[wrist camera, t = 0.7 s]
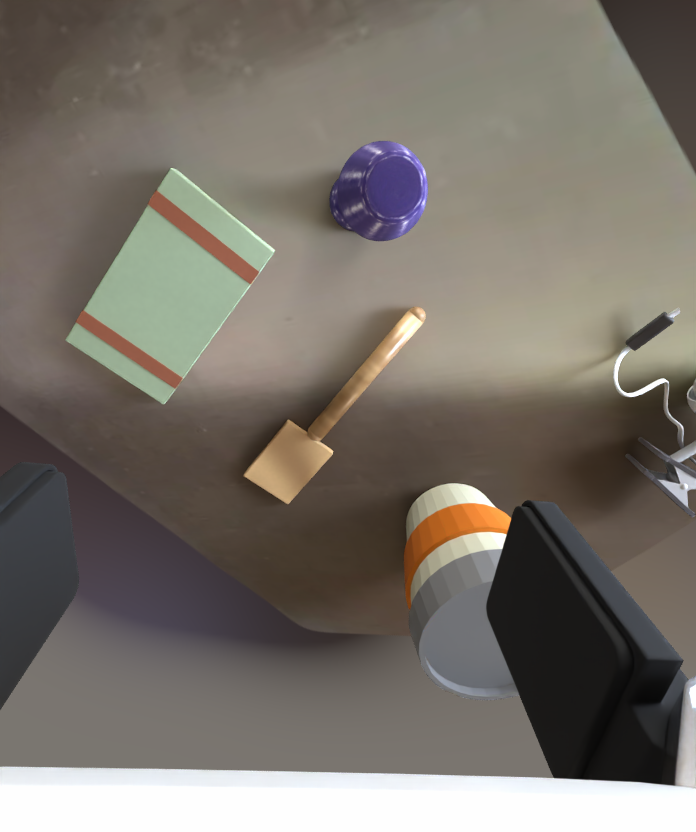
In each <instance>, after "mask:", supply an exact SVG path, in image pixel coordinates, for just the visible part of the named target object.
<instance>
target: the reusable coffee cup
mask: <svg viewBox="0 0 696 832" xmlns="http://www.w3.org/2000/svg"><path fill="white" fill-rule="evenodd" d="M510 521H511V518H510V517H509V516H508V515H507V514H506V513H504V512H502V511H501V510H499V509H497V508H496V507H495V506H494V505H493V504H492V503H491V502H490V501H489V500H488V498H487V497H486V496H485V495H484V494H483V493H481V492H480V491H479V490H477V489H475V488H474V487H471V486H468V485H465V484H458V483H452V484H444V485H440V486H437V487H434V488H432V489H430V490H428V491H426V492H425V493H423V494H422V495H421V496H420V497H419V498H417V499H416V501H415V502H414V503H413V505H412V506H411V508H410V510H409V512H408V515H407V519H406V534H407V543H406V547H405V551H404V573H405V591H406V600H407V604H408V608H409V609H410V611H409V629H410V633H411V637H412V639H413V642H414V645H415V648H416V651H417V654H418V656H419V659H420V662H421V665H422V667H423V669H424V671H425V673H426V674H427V676H428V677H429V678H430V679H431V680H432V681H433V682H434V683H435V684H436V685H437V686H439V687H440V688H442V689H443V690H445V691H447V692H449V693H452V694H454V695H456V696H459V697H464V698H469V699H475V700H497V699H504V698H509V697H514V696H518V695H519V693H518V690H517V688H516V686H515V683H514V681H513V678H512V676H511V673H510V671H509V669H508V666H507V664H506V661H505V659H504V656H503V654H502V652H501V649H500V647H499V644H498V642H497V639H496V637H495V635H494V632H493V630H492V627H491V625H490V622H489V620H488V617H487V611H486V603H487V599H488V595H489V592H490V589H491V585H492V582H493V578H494V575H495V572H496V568H497V565H498V562H499V558H500V555H501V552H502V548H503V545H504V542H505V538H506V535H507V531H508V528H509V525H510Z"/></svg>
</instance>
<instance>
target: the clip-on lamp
mask: <svg viewBox="0 0 696 832" xmlns="http://www.w3.org/2000/svg"><path fill="white" fill-rule="evenodd" d="M679 313H680V309H679V308H677V309H675V310H674V311H672V312H670V313H668V314H667V313H666V312H663V313H662V314H661V315H659V316H658V317H657V318H655V319H654V320H653V321H651V322H650V323H649V324H647V325H646V326H645V327H644V328H642V329H641V330H640V331H638V332H637V333H636V334H634V335H633V336H632V337H630V338H629V339H628V340H627V341H626V344H627V346H626V347H625V348H624V349H623V350H622V352H621V353H620V354H619V356H618V358H617V360H616V362H615V365H614V370H613V380H614V385H615V387H616V389H617V391H618V392H619V393H620V394H621V395H623V396H626V397H635V396H638V395H641V394H643V393H645V392H647V391H649V390H651V389H652V388H654V387H656V386H658V385H659V384H661V383H665V391H664V412H665V414H666V416H667V418H668V419H669V420H670V421H672V422H673V423H674V424H676V425H677V427H678V442H679V445H680V447H681V450H679V451H677V452H675V453H674V454H672V455H670V456H669V455H668V454H666V453H664V452H663V451H661V450H659V449H658V448H656V447H654V446H653V445H652V444H650V443H649V442H647V441H646V440H644V439H643V438H641V437H640V438H639V439H638V441H639V442H641V443H642V444H643V445H644V446H646V447H647V448H648V449H649V450H651V451H652V452H653V453H654V454H656V455H657V456H658V457H660V458H661V459H663V460H664V463H665V466H666V469H667V471H668V473H667V474H666V473H661V472H656V471H651V470H647V469H646V468H645V467H643V466H642V465H641V464H640V463H639V462H638V461H637V460H636V459H634V458H633V457H632V456H631V455H630V454H627V455H625V457H626V458H628V459H629V460H630V461H631V462H632V463H633V464H634V465H635V466H636V467H637V468H638V469H639V470H640V471H641V472H642V473H644V474H645V475H646V476H647V477H648V478H649V479H651V480H652V481H653V482H654V483H655V484H656V485H657V486H658V487H659V488H660V489H661V490H662V491H663V492H664V493H665V494H666V495H667V496H668V497H669V498H670V499H671V500H672V501H674V502H675V503H676V504H677V505H678V506H679V507H680V508H682V509H683V510H684V511H685V512H686V513H687V514H689V515H690V516H691V517H694V516H695V515H696V514H695V513H693V512H692V511H691V510H690V509H689V508H688V501H687V491H688V490H690V489H696V471H695V470H693V469H691V468H690V467H688V466H686V465H684V464H683V463H681V462H682V461H684V460H685V459H687V458H689V459H690V460H691V461H692V462H693V463H694V464H696V460H695V459H694V458H693V457H692V455H694V454H696V441H694V442H693V443H691V444H689V445H687V446H686V447H685V446H684V443H683V434H684V429H683V426H682V425H681V424H680V423H679V422H678V421H676V420H675V419H674V418H673V417H672V416H671V415H670V413H669V411H668V394H669V382H668V381H667V380H665V379H664V378H662V379H659V380H656V381H654V382H653V383H651V384H649V385H647V386H646V387H644V388H642V389H640V390H638V391H636V392H633V393H625V392H623V391H622V390H621V389H620V387H619V384H618V379H617V377H618V369H619V365H620V363H621V361H622V359H623V357H624V356H625V355H626V354H627V352H628V351H629V350H631V349H633V350H634V351H635V350H637V349H638V348H640V347H641V346H642V345H644V344H645V343H647V342H648V341H649V340H651V339H652V338H653V337H655V336H656V335H658V334H659V333H660V332H662V331H663V330H664V329H666V328H667V327H668V326H670V325H671V324H673V322H674V319H673V318H672V317H674V316H676V315H678V314H679ZM687 401H688V404H689V406H690V408H691V409H692V410H693V411H694V412H695V413H696V379H695V381H694V384H693V386H692V387H691V388H690V389H689V391H688V392H687Z"/></svg>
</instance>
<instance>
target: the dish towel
mask: <svg viewBox="0 0 696 832" xmlns="http://www.w3.org/2000/svg"><path fill="white" fill-rule="evenodd" d="M274 252H275V250H274V249H273V248H272V247H270V246H269V245H268V244H267V243H265V242H264V241H263V240H262V239H261V238H259V237H258V236H257V235H256V234H254V233H253V232H252V231H251V230H250V229H248V228H247V227H246V226H245V225H244V224H242V223H241V222H240V221H239V220H237V219H236V218H235V217H234V216H233V215H231V214H230V213H229V212H228V211H226V210H225V209H224V208H223V207H222V206H220V205H219V204H218V203H217V202H215V201H214V200H213V199H212V198H211V197H209V196H208V195H207V194H206V193H204V192H203V191H202V190H201V189H200V188H198V187H197V186H196V185H195V184H194V183H192V182H191V181H190V180H189V179H187V178H186V177H185V176H184V175H183V174H181V173H180V172H179V171H178V170H176V169H173V168H170V170H169V171H168V173H167V175H166V176H165V178H164V179H163V181H162V183H161V184H160V186H159V188H158V189H157V190H156V191H155V193H154V194H153V196H152V197H151V199H150V201H149V202H148V206H147V207H146V209H145V210H144V212H143V214H142V215H141V217H140V219H139V220H138V222H137V224H136V225H135V227H134V228H133V230H132V232H131V233H130V235H129V237H128V238H127V240H126V242H125V243H124V245H123V246H122V248H121V250H120V251H119V253H118V255H117V256H116V258H115V259H114V261H113V263H112V264H111V266H110V268H109V269H108V271H107V273H106V274H105V276H104V277H103V279H102V281H101V282H100V284H99V286H98V287H97V289H96V291H95V292H94V294H93V295H92V297H91V299H90V300H89V302H88V304H87V305H86V307H85V308H84V310H82V312H81V314H80V315H79V317H78V318H77V320H76V323H75V325H74V326H73V328H72V330H71V331H70V333H69V335H68V336H67V338H66V341H67V342H69V343H70V344H72V345H73V346H75V347H76V348H78V349H79V350H81V351H82V352H84V353H85V354H87V355H88V356H90V357H91V358H93V359H94V360H96V361H98V362H99V363H101V364H102V365H104V366H105V367H107V368H108V369H110V370H111V371H113V372H114V373H116V374H117V375H119V376H120V377H122V378H124V379H125V380H127V381H128V382H130V383H131V384H133V385H134V386H136V387H137V388H139V389H140V390H142V391H143V392H145V393H146V394H148V395H149V396H151V397H153V398H154V399H156V400H157V401H159V402H160V403H162V404H165V403H166V402H167V400H168V399H169V398H170V397H171V395H172V394H173V392H174V391H175V390H176V388H177V387H178V385H179V384H180V383H181V381H182V380H183V379H184V377H185V376H186V374H187V373H188V372H189V370H190V369H191V367H192V366H193V365H194V363H195V362H196V361H197V359H198V358H199V356H200V355H201V354H202V352H203V351H204V349H205V348H206V347H207V345H208V344H209V343H210V341H211V340H212V338H213V337H214V336H215V334H216V333H217V331H218V330H219V329H220V327H221V326H222V325H223V323H224V322H225V320H226V319H227V318H228V316H229V315H230V313H231V312H232V311H233V309H234V308H235V307H236V305H237V304H238V302H239V301H240V300H241V298H242V297H243V295H244V294H245V293H246V291H247V290H248V288H249V287H250V286H251V284H252V283H253V282H254V280H255V279H256V277H257V276H258V275H259V273H260V272H261V270H262V269H263V268H264V266H265V265H266V264H267V262H268V261H269V259H270V258H271V257H272V255H273V254H274Z"/></svg>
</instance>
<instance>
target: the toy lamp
mask: <svg viewBox="0 0 696 832" xmlns="http://www.w3.org/2000/svg"><path fill="white" fill-rule="evenodd" d="M427 195H428V185H427V178H426V174H425V171H424V168H423V166H422V164H421V163H420V161H419V160H418V158H417V157H416V156H415V155H414V154H413V153H412V152H411V151H410V150H409V149H407V148H406V147H405V146H403V145H400V144H398V143H394V142H390V141H378V142H373V143H370V144H367V145H365V146H363V147H361V148H360V149H358V150H357V151H356V152H355V153H353V154H352V155H351V157H350V158H349V159H348V160H347V162H346V163H345V165H344V167H343V169H342V171H341V174H340V177H339V179H338V180H337V181H336V182H335V183H334V185H333V187H332V190H331V193H330V210H331V213H332V215H333V217H334V219H335V220H336V222H337V223H338V224H339V225H341V226H342V227H343V228H345V229H347V230H350V231H355V232H356V233H357V234H359V235H361V236H362V237H364V238H366V239H370V240H374V241H388V240H392V239H395V238H398V237H400V236H402V235H404V234H405V233H407V232H408V231H409V230H410V229H411V228H412V227H413V226H414V225H415V224H416V223H417V221H418V220H419V218H420V217H421V215H422V213H423V211H424V208H425V205H426V200H427Z"/></svg>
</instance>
